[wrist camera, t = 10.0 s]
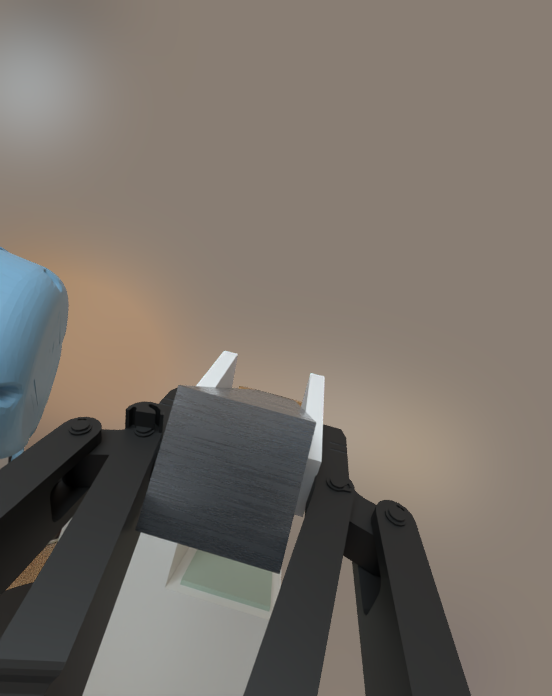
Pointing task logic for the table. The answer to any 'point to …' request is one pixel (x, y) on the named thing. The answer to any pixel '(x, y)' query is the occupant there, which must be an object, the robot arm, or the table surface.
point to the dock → (183, 624)
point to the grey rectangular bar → (229, 473)
